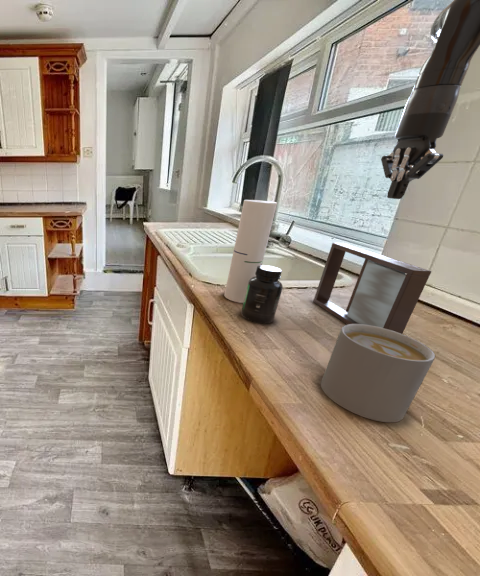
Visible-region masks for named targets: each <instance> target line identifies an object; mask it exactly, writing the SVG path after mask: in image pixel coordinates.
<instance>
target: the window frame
mask: <svg viewBox="0 0 480 576" xmlns="http://www.w3.org/2000/svg"><path fill="white" fill-rule="evenodd" d="M346 253H349V254H350V255H354V256H357V257H358V258H362V259H364V260H365V259H367V260H370V261H368V262H367V264H366V267H365V270H364V272H363V275H362V277H361V280H360V283H359V285H358V288H357V291H356V293H355V296H354V298H353V301H352V304H351V306H350V309H349V312H346V309H344V308H342V307H340V306H339V305H338V304H336V303H334V302H333V301H331V300H330V298H331V295H332V292H333V289H334V287H335V283H336V282H337V278H338V275H339V272H340V270H341V267H342V265H343V264H342V263H343V261H344V258H345V256H346ZM371 261H373V262H371ZM374 262H376V263H378V264H376V263H374ZM379 264H381V265H379ZM382 265H384V266H382ZM385 266H387V267H389V268H387V267H385ZM390 268H392V269H390ZM393 269H395V270H393ZM396 270H398V271H400V272H398V271H396ZM401 272H403V273H401ZM404 273H405V274H404ZM431 273H432V270H429V269H426V268H424V267H420V266H417V265H414V264H410V263H407V262H405V261H401V260H398V259H395V258H392V257H389V256H386V255H383V254H380V253H377V252H374V251H370V250H367V249H365V248H362V247H358V246H355V245H352V244H349V243H347V242H332V243H331V247H330V249H329V253H328V255H327V259H326V262H325V264H324V268H323V271H322V273H321V277H320V279H319V283H318V285H317V289H316V291H315V295H314V298H313V303H314V304H316V305H317V306H319V307H321V308H322V309H324V310H325V311H327V312H328V313H329V314H331V315H333V316H334V317H335V318H337V319H339V320H340V321H341V322H342V323H344V324H345V325H348V324H364V325H371V326H376V327H381V328H384V329H388V330H392V331H395V332H398V333H400V334H403V335H404V331H405V330H406V327H407V325H408V323H409V320H410V319H411V316H412V314H413V312H414V310H415V308H416V306H417V303H418V301H419V299H420V298H421V295H422V293H423V290H424V288H425V286H426V284H427V283H428V280H429V278H430V276H431Z"/></svg>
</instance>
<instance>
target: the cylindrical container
mask: <svg viewBox="0 0 480 576" xmlns="http://www.w3.org/2000/svg"><path fill="white" fill-rule="evenodd" d="M277 207H278V202H277V201H271V200H259V199H244V200H243V204H242V209H241V213H240V218H239V224H238V228H237V233H236V238H235V242H234V243H235V244H234V247H233V252H232V256H231V260H230V261H231V262H230V266H229V271H228V276H227V281H226V285H225V290H224V294H223V295H224V297H225V298H226V299H228V301H229V300H230V301H232V302H235V303H239V304H243V303H244V298H245V294H246V290H247V286H248V282H249V280H250V279H251V278H252V277H255V276H256V275H255V273H256V270H257V266H260V265H263V262H264V258H265V255H266V251H267V247H268V242H269V238H270V234H271V230H272V227H273V222H274V218H275V214H276V209H277Z"/></svg>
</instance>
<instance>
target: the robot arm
mask: <svg viewBox="0 0 480 576" xmlns="http://www.w3.org/2000/svg"><path fill="white" fill-rule="evenodd" d="M429 34H430V38H431V40H433V42H434V43H435V44H434V46H433V49H432V51H431V53H430V55H429V56H428V57H427V59H426V60H425V61H424V62H423V64H422V66H421V68H420V70H419V72H418V75H417V77H416V80H415V82H414V87H413V89H412V91H411V94H410V96H409V97H408V100H407V102H406V104H405V106H404V109H403V112H402V114H401V117H400V120H399V123H398V126H397V128H396V132H395V134H394V138H395V139H396V140H397V142H396V144H395V145H394V147H392V148H393V149H392V152H390V153H389V154H388V155H383V156H382V157H380V161H381V165H382V169H383V173H384V177H385V178H386V179H390V182H391V183H390V186H389V188H388V191H387V195H386V196H387V199H390V200H391V199H392V200H401V199H402V198H403V197H404V196H405V194H406V191H407V189H408V186H409V184H410V182H412V181H414V180H419V179H421V178H422V177H423V176H424V175H425V174H426V173H427V172H429V171H430V170H431V169H432V168H433V167H434V166H435V165H437V164H438V163H439V162H440V161H441V160H442V159H443V158H444V154H443V153H438V152H437V151H436V150H435V149H436V147H437V139H440V138H442V137H443V136H444V134H445V131H446V128H447V126H448V124H449V121H450V119H451V116H452V114H453V112H454V109H455V106H456V104H457V102H458V99H459V94H460V91H461V87H462V85H463V83H464V80H465V78H466V75H467V73H468V71H469V68H470V65H471V61H472V59H473V58H474V56H475V54H476V52H477V51H478V49H479V47H480V0H452V1H451V3H448V5H447V6H446V7H445V8H443V10H442V11H441V12H440V13H439V14H438V15H437V16H436V18H435V19H434V21H433V22H432V25H431V27H430V33H429Z"/></svg>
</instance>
